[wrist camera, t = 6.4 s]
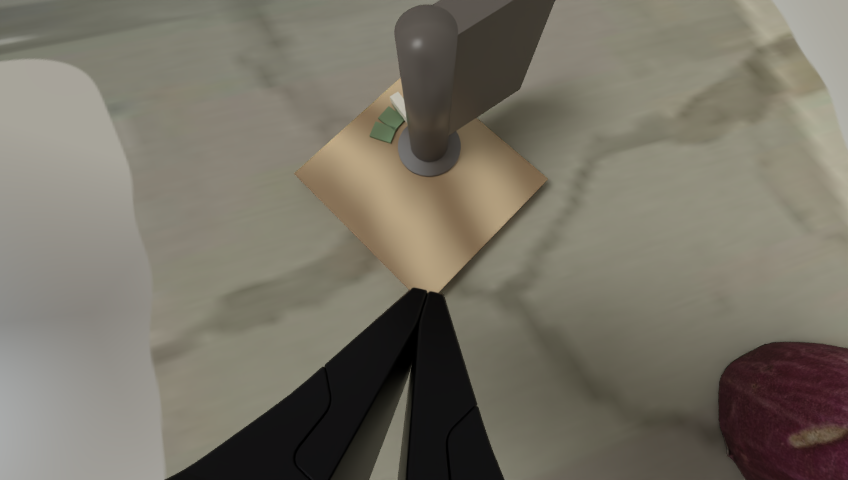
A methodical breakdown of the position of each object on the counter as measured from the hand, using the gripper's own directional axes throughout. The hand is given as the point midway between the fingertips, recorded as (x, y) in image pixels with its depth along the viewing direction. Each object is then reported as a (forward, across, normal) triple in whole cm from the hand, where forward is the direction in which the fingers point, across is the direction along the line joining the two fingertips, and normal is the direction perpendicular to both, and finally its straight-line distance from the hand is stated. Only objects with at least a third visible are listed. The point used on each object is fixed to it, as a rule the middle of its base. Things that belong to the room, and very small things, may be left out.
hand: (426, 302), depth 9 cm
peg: (+18, +2, -2) cm, 18 cm away
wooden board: (+16, +3, +3) cm, 16 cm away
